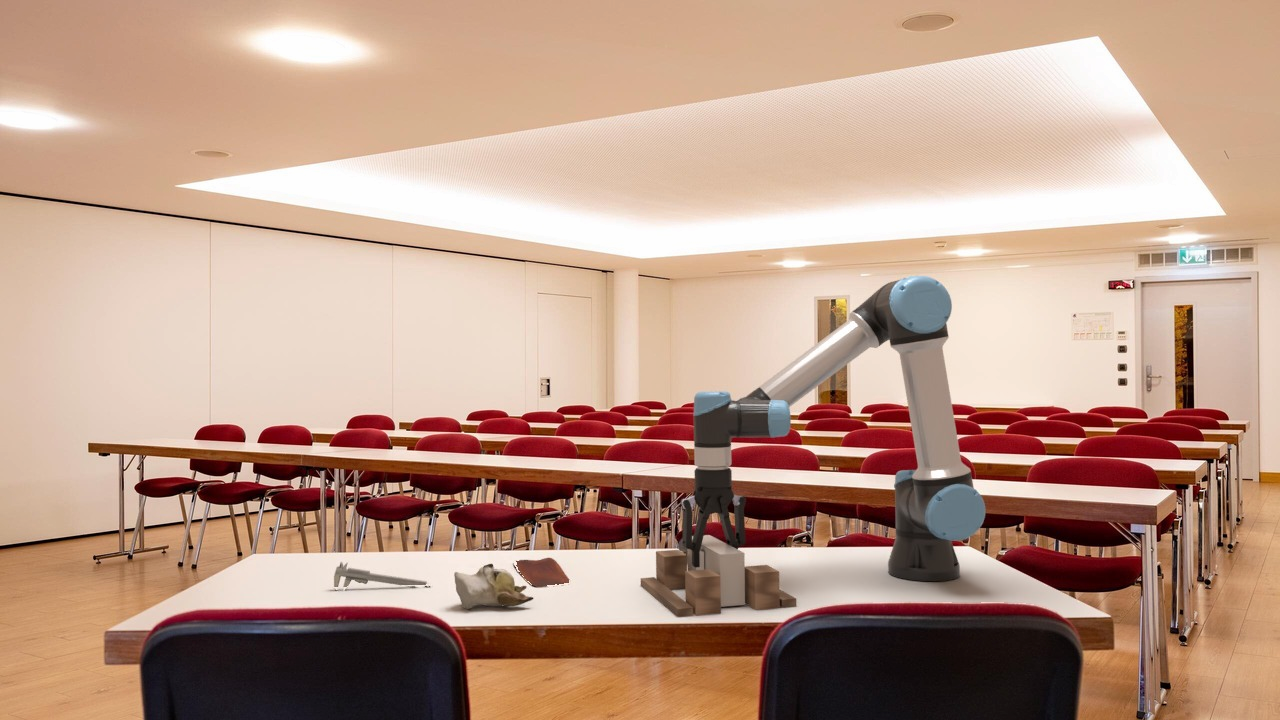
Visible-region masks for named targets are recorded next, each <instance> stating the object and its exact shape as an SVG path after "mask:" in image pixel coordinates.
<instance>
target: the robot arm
mask: <svg viewBox="0 0 1280 720" xmlns="http://www.w3.org/2000/svg"><path fill="white" fill-rule="evenodd" d="M952 305H953V304H952V298H951V295H950V294H949V291H948V289H947V288H946V287H945V286H944V285H943V284H942V283H941V282H940V281H938V280H936V279H934V278H932V277H931V276H930V277H929V276H925V275H910V276H908V277H903V278H900V279H898V280H894V281H890V282H888V283H885V284H884V285H882V286H881V287H880V288H879V289H877V290H876V291H875V292H874V293H873V294H872V295H870V297H868V298H866V299H865V300H864V301H863V302H862V303H861V304H860V305H859V306H857V307H856V308H855V309H854V310H852V311H851V312H850V313H849V314H848V315H849V316H848V320H846V322H844V323H842V324H841V325H840V326H839V327H837V328H836V329H835V330H833V331H832V332H831V333H829V334H828V335H827V336H825V337H823V339H821V340H820V341H818V342H817V343H816V344H814V346H812V347H810V348H809V349H808V350H806V351H805V352H804V353H803V354H801V355H799V357H797V358H795V360H793V361H791V362H790V363H789V364H787V366H785V367H784V368H783V369H781V370H779V372H777V373H775V374H774V375H773V376H772V377H771V378H769V379H767V380H766V381H764V382H763V383H762V384H761V385H760V386H759V387H757V388H755V389H754V390H753V391H752V392H750V393H748V394H747V395H746V396H743V397H741V398H739V399H737V400H732V397H731V392H729V391H726V390H725V391H716V390H715V391H712V390H711V391H707V390H706V391H698V392H697V393H696V394H695V395H694V397H693V400H694V401H693V413H692V415H693V445H694V446H693V447H694V448H693V449H694V451H693V453H694V466H695V467H696V468H694V490H693V491H694V492H692V493H693V494H692V496H689V497H687V498H681V499H680V505H681V508H682V538H683V543H682V544H683V546H684V547H685V548H687V549H690V550H691V551H692V565H693V566H694V567H696V570H704V552H703V551H702V550H700V549H701V545H702V540H703V536H704V535H705V532H706V529H707V528H706V527H707V525H708V524H707V523H708V520H709V519H710V515H713V514H717V515H718V517H719V519H720V522H721V526H722V530H723V533H724V537H725V540H726V544H728V545H730V546H732V547H734V548H736V549H738V550H739V547H741V546H745V545H746V525H745V521H746V520H745V506H746V503H747V498H746V497H745V496H743V495H739V494H738V495H737V494H735V493H734V491H733V488H732V486H733V485H732V483H733V482H732V480H733V479H732V477H733V475H732V471H733V470H732V469H731V468H730V466H731V465H732V439H733V438H738V439H739V438H771V439H772V438H773V439H774V438H780V437H786V436H788V434H789V433H790V430H791V425H792V424H791V422H792V421H791V420H792V419H791V418H792V417H791V416H792V415H791V409H790V408H791V407H792V406H793V405H794V404H796V403H797V402H798V401H801V399H803V397H806V396H807V395H808V394H809V393H810V392H812V391H813V390H815V389H816V388H817V387H819V386H820V385H821V384H822V383H824V382H825V381H827V380H828V379H830V377H833V376H834V375H835V374H836V373H838V372H839V371H840V370H841V369H843V368H844V367H846V366H847V365H848V364H849V363H852V361H854V359H856V358H858V357H859V356H861V354H863V353H864V352H866V351H867V350H868V349H871V348H874V349H878V348H879V347H881V346H882V345H883V344H884V343H886V342H887V341H889V344H890V348H892V349H893V350H894V351H896V352H897V353H898V354H899V360H900V365H901V371H902V377H903V383H904V391H905V396H906V401H907V407H908V413H909V419H910V425H911V431H912V438H913V439H912V440H913V444H914V450H915V455H916V462H917V468H916V469H907V470H905V469H903V470H899V471H897V472H896V474H895V476H894V478H895V480H894V485H893V487H894V502H895V503H894V506H895V507H894V508H895V509H894V510H895V539H894V542H893V546H892V549H891V552H890V555H889V559H888V562H887V572H888V574H889V575H891V576H893V577H896V578H900V579H905V580H910V581H920V582H921V581H922V582H942V581H943V582H944V581H952V580H955V579H958V578H959V577H960V576H961V571H960V570H961V568H960V562H959V560H958V557H957V554H956V551H955V548H954V545H953V541H954V542H957V541H964V540H966V539H969V538H970V537H972V536H974V535H975V534H976V533H977V532H978V531H979V529H980V528H981V527H982V526H983V524H984V522H985V521H984V520H985V518H986V505H985V504H986V503H985V501H984V499H983V497H982V495H981V494H980V493H979V491H978V490H977V489H975V488H974V481H973V477H972V470H971V468H970V467H968V466H967V465H966V464H965V463H963V461H962V459H961V458H962V457H961V452H960V451H961V450H960V445H959V439H958V434H957V427H956V421H955V417H954V409H953V404H952V398H951V391H950V385H949V380H948V373H947V366H946V362H945V355H944V351H943V350H944V349H943V347H944V345H945V344H946V342H947V341H948V340H949V338H950V337H949V332H948V324H947V322H948V321H949V318H950V317H951V314H952V308H953V306H952ZM731 502H732V504H733V506H734V507H733V510H734V511H733V513H734V529H733V525H732V522H731V519H730V512H729V509H728V508H729V505H730V504H731ZM694 503H695V504H696V506H698V513H697V519H696V525H695V528H694V532H693V509H694ZM734 531H735V533H734ZM692 536H693V540H692Z"/></svg>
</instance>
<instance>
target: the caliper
mask: <svg viewBox="0 0 1280 720" xmlns="http://www.w3.org/2000/svg"><path fill="white" fill-rule="evenodd" d="M348 563H349V562H346V563H345V564H344V563H343V561H340V564H339V566H338V565H337V566H336V569H335V571H334V575H333V588H334V587H338V588H339V584H340V582H341V578H342V577H343V578H345V579H344V582H343V586H342V587H347V586H348V587H349V585H350V584H351V582H352V581H355V582H357V584H358V583H359V584H361V583H362V584H364V585H367V583H368V582H375V583H382V584H388V585H389V584H390V585H395V586H396V585H397V586H402V585H426V584H428V581H426V580H421V579H414V578H407V577H400V576H393V575H387V574H379V573H372V572H371V571H370V570H366V569H362V568H361V569H360V568H355V567H348V568H347V566H348ZM348 587H347V588H348Z"/></svg>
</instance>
